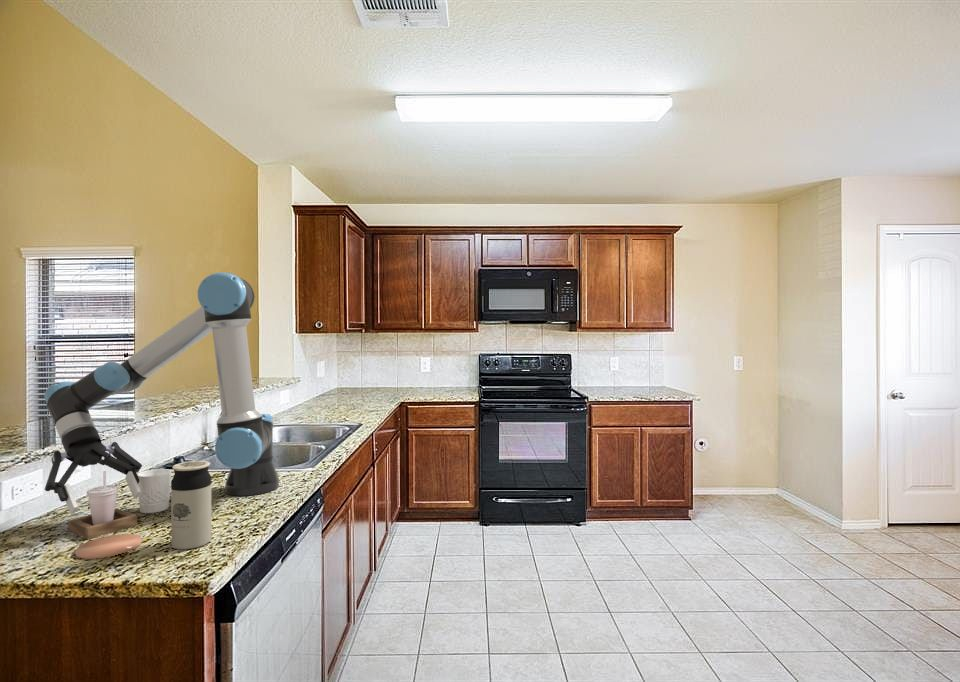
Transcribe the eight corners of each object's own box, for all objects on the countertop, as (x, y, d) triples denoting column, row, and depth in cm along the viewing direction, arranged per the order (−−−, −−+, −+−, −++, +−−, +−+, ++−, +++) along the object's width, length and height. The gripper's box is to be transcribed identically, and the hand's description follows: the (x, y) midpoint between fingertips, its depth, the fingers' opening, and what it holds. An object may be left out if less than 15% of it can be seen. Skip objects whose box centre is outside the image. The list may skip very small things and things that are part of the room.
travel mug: (194, 534, 123) (194, 459, 123) (219, 539, 120) (219, 462, 120) (163, 547, 116) (162, 466, 116) (188, 552, 113) (188, 470, 113)
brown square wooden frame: (116, 517, 134) (116, 508, 134) (137, 525, 129) (136, 515, 129) (68, 530, 125) (68, 520, 125) (88, 539, 120) (88, 528, 120)
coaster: (151, 535, 122) (151, 532, 122) (125, 557, 110) (125, 553, 110) (95, 538, 120) (95, 535, 120) (62, 561, 108) (62, 557, 108)
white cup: (177, 507, 142) (177, 471, 142) (146, 516, 135) (146, 478, 135) (161, 502, 146) (161, 467, 146) (131, 511, 139) (130, 474, 139)
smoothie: (102, 534, 123) (101, 475, 123) (79, 532, 124) (79, 473, 124) (125, 524, 129) (125, 468, 129) (104, 522, 131) (103, 467, 131)
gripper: (126, 435, 145) (155, 497, 138) (12, 452, 124) (38, 527, 116) (136, 418, 143) (166, 480, 135) (21, 432, 121) (48, 508, 114)
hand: (107, 502), depth 126 cm, fingers open, 13 cm apart
